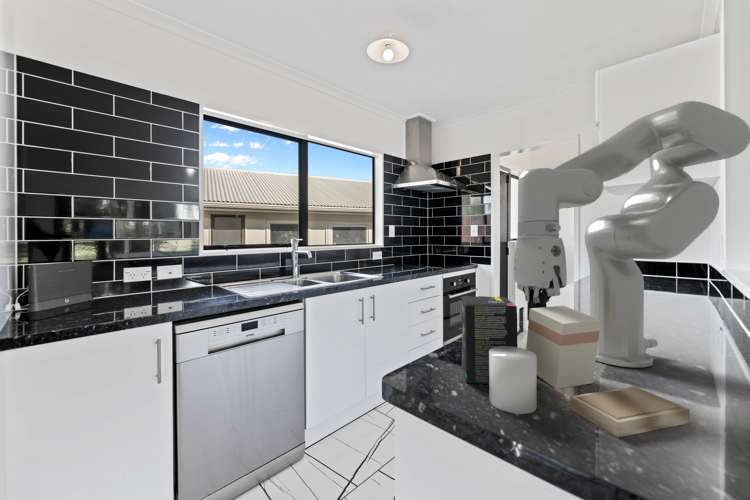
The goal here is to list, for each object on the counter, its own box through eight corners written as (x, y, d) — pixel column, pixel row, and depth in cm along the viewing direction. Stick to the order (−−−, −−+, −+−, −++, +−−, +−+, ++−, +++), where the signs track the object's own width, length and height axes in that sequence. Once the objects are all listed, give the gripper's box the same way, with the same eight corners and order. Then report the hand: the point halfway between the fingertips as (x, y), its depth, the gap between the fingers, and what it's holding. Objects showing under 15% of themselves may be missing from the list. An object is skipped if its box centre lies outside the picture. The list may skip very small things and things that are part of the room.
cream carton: (557, 361, 66) (563, 305, 64) (593, 383, 58) (600, 320, 56) (524, 366, 64) (529, 308, 62) (556, 389, 56) (563, 323, 54)
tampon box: (519, 388, 57) (519, 305, 56) (465, 384, 59) (464, 304, 58) (506, 365, 67) (506, 295, 67) (461, 362, 69) (461, 294, 69)
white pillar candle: (516, 390, 56) (516, 344, 56) (547, 410, 49) (547, 358, 49) (480, 395, 54) (480, 348, 54) (507, 416, 47) (507, 363, 47)
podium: (634, 398, 53) (634, 385, 52) (689, 423, 45) (689, 407, 45) (569, 409, 49) (569, 395, 49) (617, 437, 42) (617, 421, 42)
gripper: (584, 230, 59) (583, 330, 59) (528, 233, 73) (527, 313, 73) (550, 229, 57) (548, 332, 57) (499, 232, 71) (498, 314, 72)
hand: (536, 321), depth 65 cm, fingers closed
